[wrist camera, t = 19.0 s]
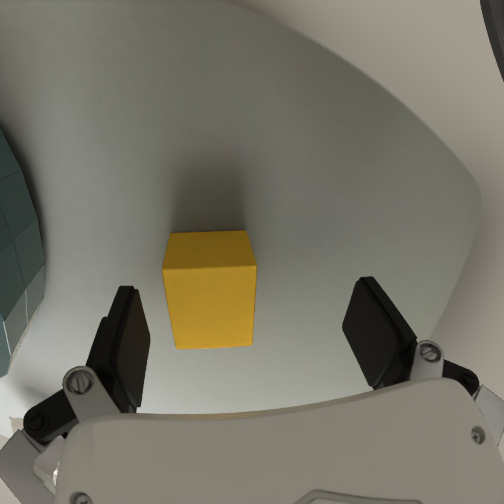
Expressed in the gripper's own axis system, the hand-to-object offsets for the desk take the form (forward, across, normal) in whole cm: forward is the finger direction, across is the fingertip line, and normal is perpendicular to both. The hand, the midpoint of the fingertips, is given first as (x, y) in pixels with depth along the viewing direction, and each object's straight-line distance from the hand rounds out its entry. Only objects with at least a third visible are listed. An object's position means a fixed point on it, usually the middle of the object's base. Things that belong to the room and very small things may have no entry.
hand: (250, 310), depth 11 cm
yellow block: (+4, +2, +1) cm, 5 cm away
